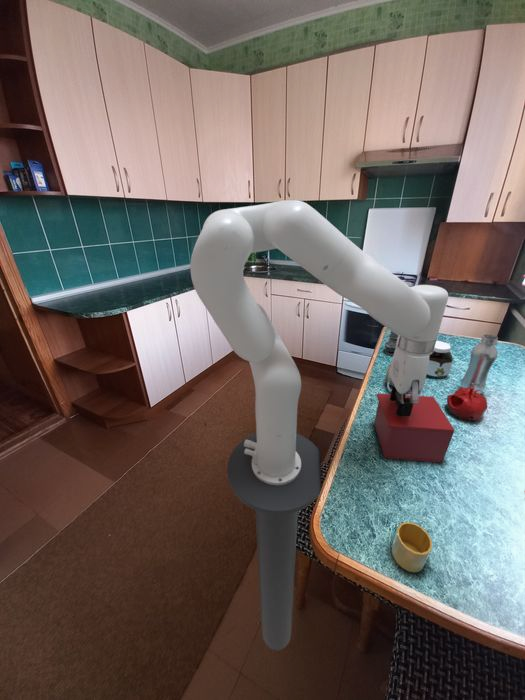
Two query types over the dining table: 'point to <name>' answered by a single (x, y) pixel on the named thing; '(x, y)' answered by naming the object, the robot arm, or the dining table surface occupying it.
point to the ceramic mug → (389, 379)
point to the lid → (415, 414)
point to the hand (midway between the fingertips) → (399, 407)
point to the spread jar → (440, 360)
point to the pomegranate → (467, 403)
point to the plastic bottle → (480, 363)
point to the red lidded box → (411, 442)
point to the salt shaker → (391, 344)
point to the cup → (411, 546)
